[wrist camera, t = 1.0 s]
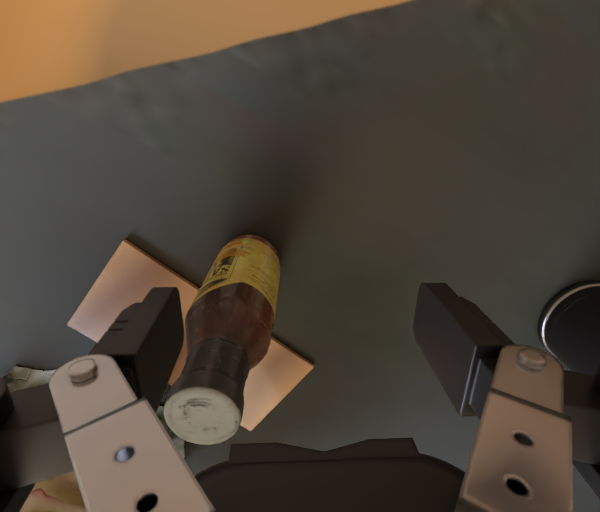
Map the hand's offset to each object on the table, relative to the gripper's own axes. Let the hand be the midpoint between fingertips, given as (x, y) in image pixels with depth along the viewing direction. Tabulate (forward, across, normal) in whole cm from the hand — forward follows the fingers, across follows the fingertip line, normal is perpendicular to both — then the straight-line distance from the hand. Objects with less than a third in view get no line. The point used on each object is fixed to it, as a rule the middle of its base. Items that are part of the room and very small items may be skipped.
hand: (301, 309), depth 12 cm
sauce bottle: (+24, -4, -8) cm, 25 cm away
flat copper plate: (+24, -10, -18) cm, 31 cm away
